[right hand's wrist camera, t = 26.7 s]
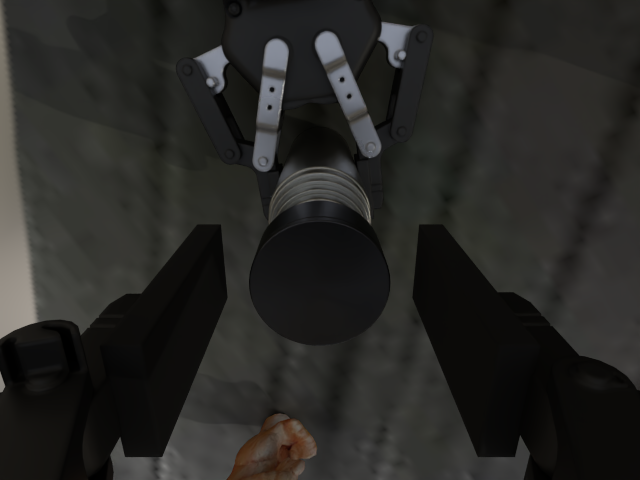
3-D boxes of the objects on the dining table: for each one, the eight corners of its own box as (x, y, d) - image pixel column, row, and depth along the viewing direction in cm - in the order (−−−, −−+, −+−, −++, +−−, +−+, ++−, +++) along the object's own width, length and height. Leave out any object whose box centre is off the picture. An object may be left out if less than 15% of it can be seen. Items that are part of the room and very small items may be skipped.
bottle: (293, 190, 32) (259, 342, 14) (285, 130, 30) (235, 214, 12) (352, 184, 32) (395, 329, 14) (347, 123, 30) (388, 198, 12)
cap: (345, 329, 15) (348, 365, 13) (239, 283, 15) (227, 314, 13) (404, 233, 14) (417, 258, 12) (290, 177, 13) (285, 195, 11)
